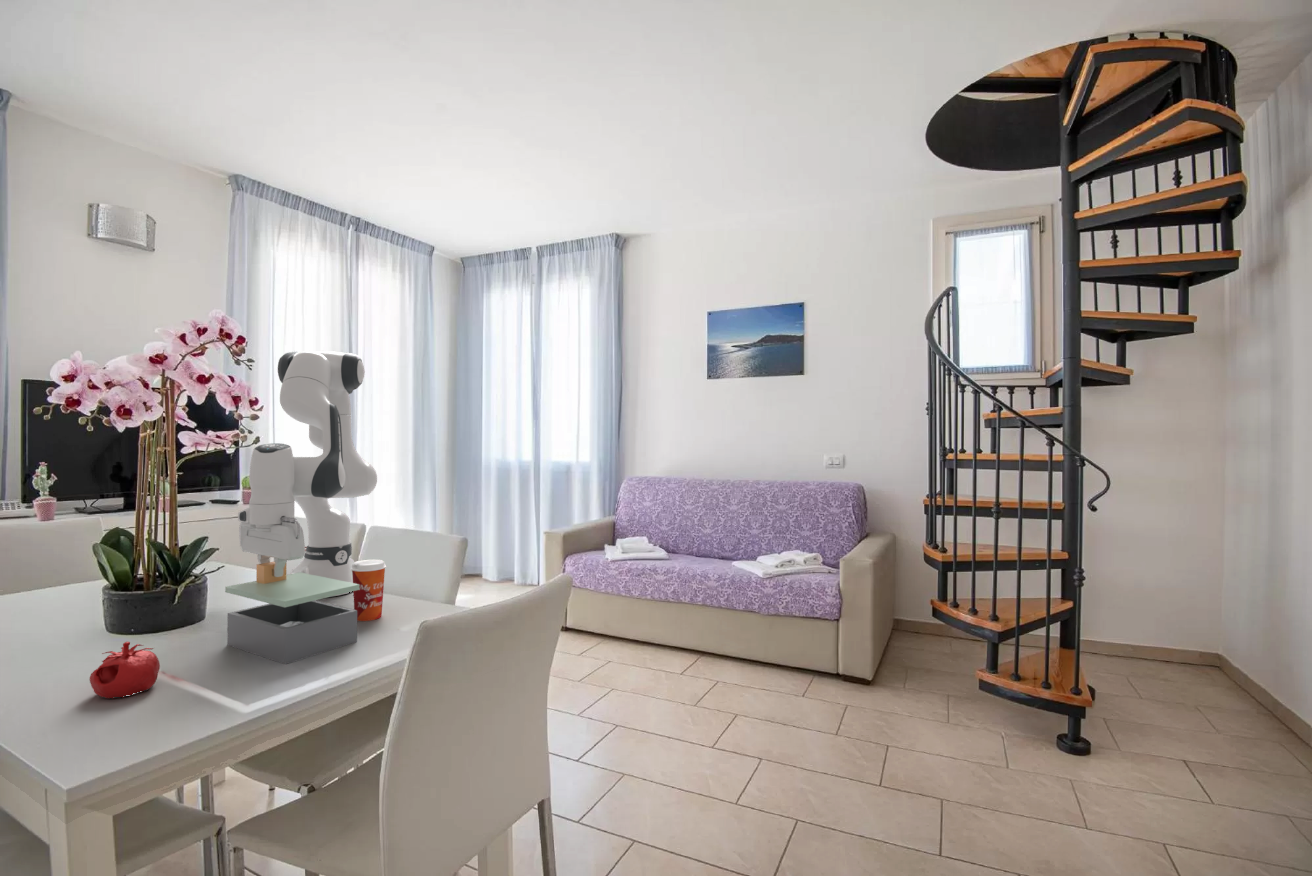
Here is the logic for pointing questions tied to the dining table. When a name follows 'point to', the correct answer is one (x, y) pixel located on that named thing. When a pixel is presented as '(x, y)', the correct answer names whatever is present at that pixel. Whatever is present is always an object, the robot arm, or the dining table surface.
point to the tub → (291, 630)
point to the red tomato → (125, 672)
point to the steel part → (291, 624)
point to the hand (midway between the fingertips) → (272, 575)
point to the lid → (289, 587)
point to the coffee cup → (368, 588)
